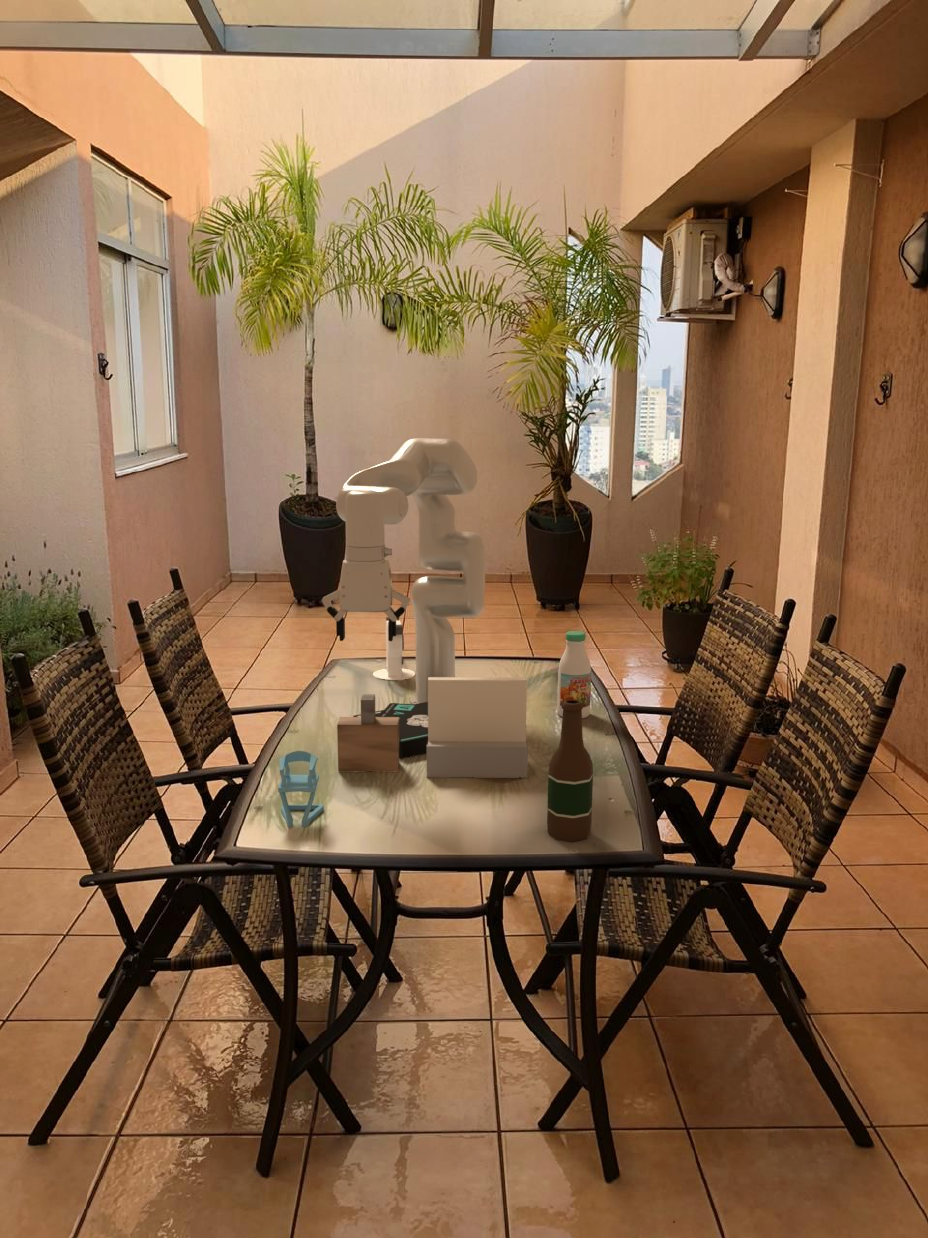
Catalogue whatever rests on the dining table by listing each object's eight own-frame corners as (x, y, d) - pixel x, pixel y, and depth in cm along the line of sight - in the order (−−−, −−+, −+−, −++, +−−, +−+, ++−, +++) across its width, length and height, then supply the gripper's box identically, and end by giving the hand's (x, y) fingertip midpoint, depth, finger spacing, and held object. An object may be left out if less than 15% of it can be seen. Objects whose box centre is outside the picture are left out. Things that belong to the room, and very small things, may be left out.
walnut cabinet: (341, 763, 220) (339, 693, 216) (399, 763, 219) (398, 693, 216) (338, 771, 215) (336, 700, 211) (397, 772, 215) (396, 700, 211)
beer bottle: (543, 825, 189) (546, 695, 184) (587, 823, 190) (591, 694, 184) (550, 843, 181) (553, 708, 176) (595, 842, 182) (599, 707, 177)
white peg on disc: (417, 680, 280) (417, 625, 277) (374, 682, 279) (373, 626, 276) (413, 668, 292) (412, 615, 289) (371, 670, 290) (370, 616, 287)
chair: (274, 828, 188) (272, 763, 185) (281, 809, 196) (279, 747, 193) (318, 827, 188) (317, 763, 185) (323, 808, 196) (322, 747, 193)
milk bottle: (550, 714, 252) (552, 632, 248) (572, 708, 257) (574, 627, 253) (574, 722, 247) (576, 638, 242) (596, 715, 252) (599, 633, 247)
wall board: (428, 760, 221) (428, 677, 217) (525, 761, 221) (526, 677, 217) (426, 777, 212) (426, 690, 208) (527, 778, 211) (528, 691, 208)
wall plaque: (332, 755, 225) (471, 765, 219) (331, 737, 224) (471, 747, 218) (372, 713, 254) (496, 721, 248) (372, 697, 253) (496, 704, 247)
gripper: (410, 551, 211) (411, 635, 215) (323, 551, 211) (325, 635, 215) (408, 557, 204) (409, 644, 207) (318, 556, 204) (320, 643, 207)
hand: (366, 639), depth 211 cm, fingers open, 9 cm apart
